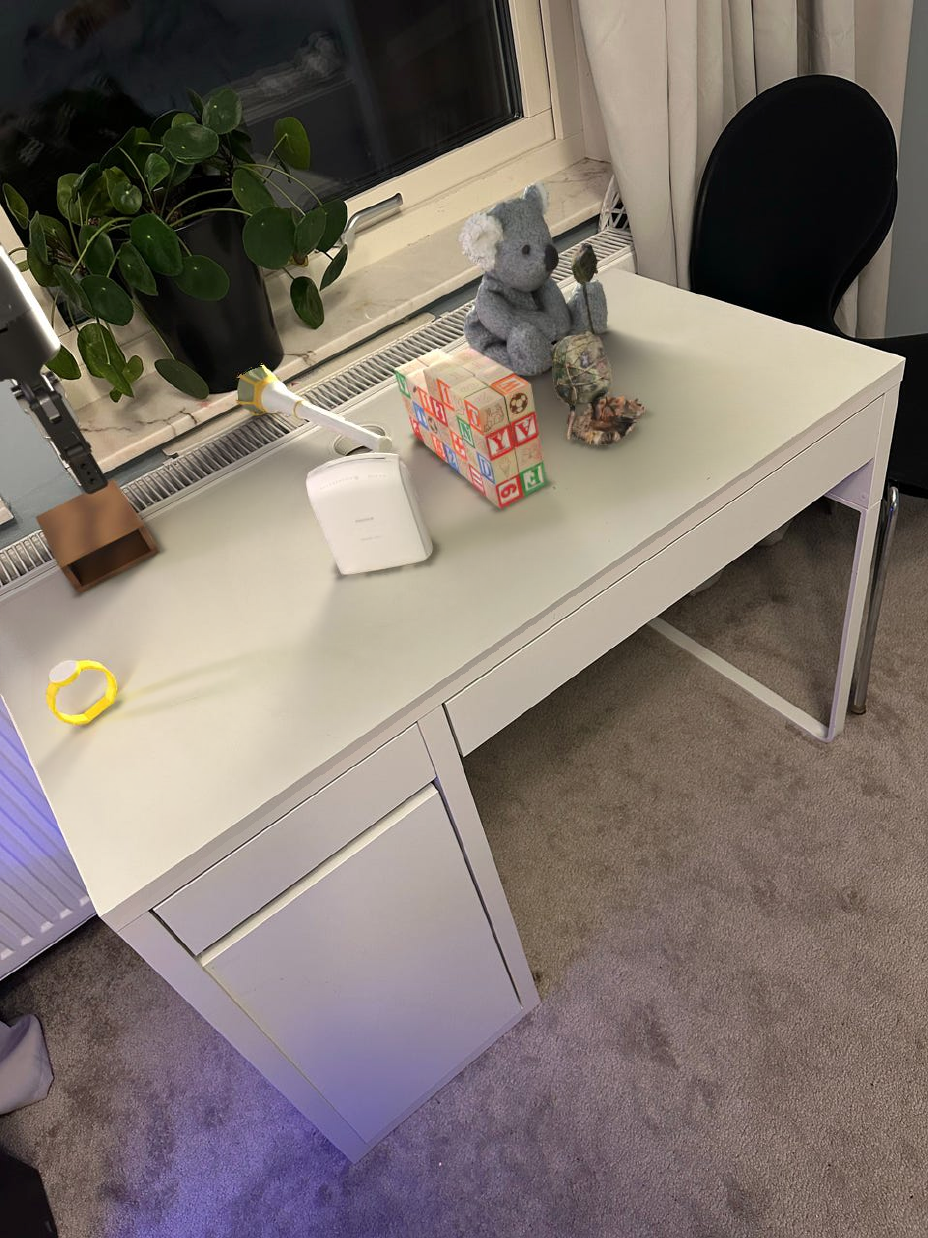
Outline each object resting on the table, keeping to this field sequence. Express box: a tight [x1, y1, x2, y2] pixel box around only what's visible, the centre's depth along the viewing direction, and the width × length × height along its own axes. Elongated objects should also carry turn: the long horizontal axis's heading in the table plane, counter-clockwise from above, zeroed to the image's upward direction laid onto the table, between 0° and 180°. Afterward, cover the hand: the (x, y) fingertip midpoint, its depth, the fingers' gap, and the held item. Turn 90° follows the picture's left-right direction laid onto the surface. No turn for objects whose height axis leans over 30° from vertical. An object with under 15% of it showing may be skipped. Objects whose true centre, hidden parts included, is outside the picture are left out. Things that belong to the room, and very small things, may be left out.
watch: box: [45, 659, 118, 726], centre depth 78 cm, size 6×3×6 cm, turn 136°
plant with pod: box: [547, 242, 647, 447], centre depth 90 cm, size 8×11×20 cm
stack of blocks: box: [393, 346, 547, 509], centre depth 94 cm, size 21×6×12 cm, turn 30°
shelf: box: [35, 478, 160, 595], centre depth 100 cm, size 10×13×4 cm
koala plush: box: [456, 180, 609, 377], centre depth 110 cm, size 17×18×20 cm
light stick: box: [234, 364, 393, 453], centre depth 110 cm, size 7×6×30 cm
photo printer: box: [305, 452, 434, 575], centre depth 84 cm, size 10×4×12 cm, turn 91°
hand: (87, 472), depth 81 cm, fingers open, 8 cm apart
